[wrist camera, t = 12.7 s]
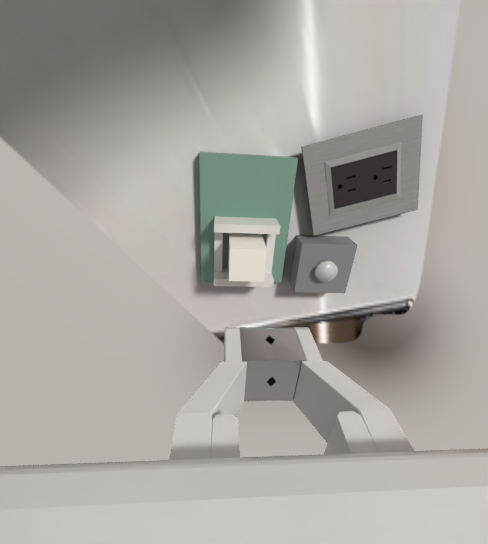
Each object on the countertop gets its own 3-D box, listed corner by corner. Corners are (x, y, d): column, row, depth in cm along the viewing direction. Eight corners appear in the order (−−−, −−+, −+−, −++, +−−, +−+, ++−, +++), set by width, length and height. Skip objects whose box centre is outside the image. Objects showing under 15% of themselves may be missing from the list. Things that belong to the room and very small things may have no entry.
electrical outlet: (309, 230, 37) (314, 236, 34) (297, 146, 32) (302, 147, 30) (407, 205, 36) (419, 210, 34) (410, 115, 31) (424, 114, 29)
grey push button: (296, 235, 36) (304, 246, 33) (347, 236, 37) (360, 247, 34) (289, 281, 40) (295, 295, 36) (336, 282, 40) (347, 296, 37)
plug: (229, 232, 34) (229, 248, 29) (261, 233, 34) (267, 249, 30) (228, 266, 36) (228, 285, 31) (258, 266, 36) (263, 285, 32)
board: (200, 151, 31) (196, 154, 27) (295, 157, 32) (305, 160, 28) (201, 276, 38) (199, 292, 34) (279, 278, 39) (285, 293, 35)
